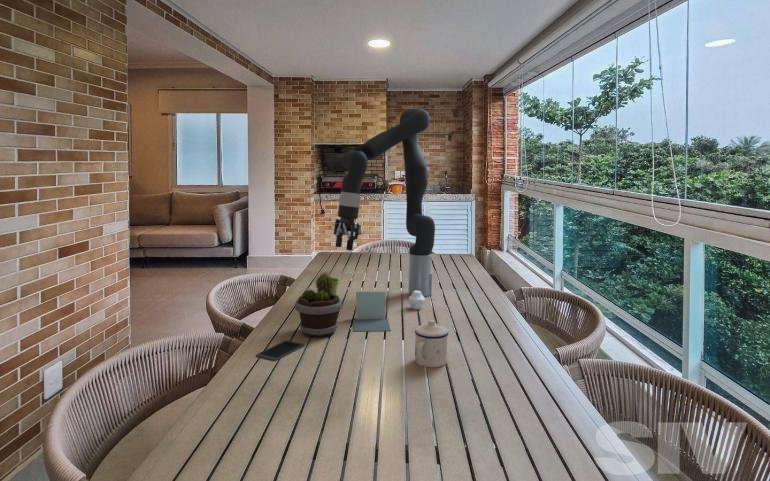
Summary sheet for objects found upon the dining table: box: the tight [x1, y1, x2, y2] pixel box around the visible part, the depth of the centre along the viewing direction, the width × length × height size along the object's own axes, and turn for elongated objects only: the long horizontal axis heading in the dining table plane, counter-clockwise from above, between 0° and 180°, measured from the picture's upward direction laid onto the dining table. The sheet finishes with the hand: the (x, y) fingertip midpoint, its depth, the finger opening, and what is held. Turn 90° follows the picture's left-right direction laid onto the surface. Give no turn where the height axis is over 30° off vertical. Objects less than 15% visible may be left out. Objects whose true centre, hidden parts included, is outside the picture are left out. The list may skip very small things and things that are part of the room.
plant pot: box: [314, 277, 340, 295], centre depth 190 cm, size 9×9×9 cm
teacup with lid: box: [414, 319, 449, 368], centre depth 131 cm, size 12×9×12 cm
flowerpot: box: [294, 271, 343, 338], centre depth 154 cm, size 14×15×20 cm
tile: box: [355, 289, 386, 319], centre depth 170 cm, size 10×2×10 cm, turn 94°
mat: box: [352, 318, 392, 333], centre depth 163 cm, size 12×12×1 cm
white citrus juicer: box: [408, 291, 426, 310], centre depth 183 cm, size 6×6×7 cm
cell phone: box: [255, 340, 305, 362], centre depth 140 cm, size 7×14×1 cm, turn 153°
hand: (343, 248), depth 181 cm, fingers open, 8 cm apart
